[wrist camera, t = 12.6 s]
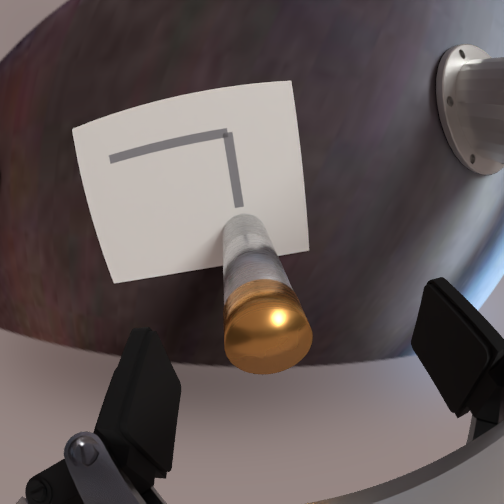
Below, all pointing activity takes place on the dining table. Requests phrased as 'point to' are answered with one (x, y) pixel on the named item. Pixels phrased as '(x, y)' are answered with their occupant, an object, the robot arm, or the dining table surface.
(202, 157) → the paper
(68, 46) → the dining table surface
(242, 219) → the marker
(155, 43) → the dining table surface
